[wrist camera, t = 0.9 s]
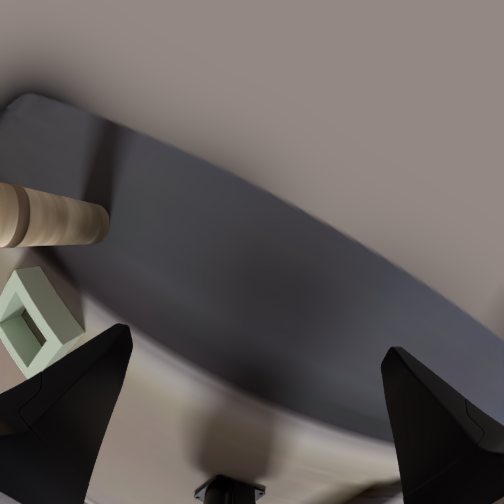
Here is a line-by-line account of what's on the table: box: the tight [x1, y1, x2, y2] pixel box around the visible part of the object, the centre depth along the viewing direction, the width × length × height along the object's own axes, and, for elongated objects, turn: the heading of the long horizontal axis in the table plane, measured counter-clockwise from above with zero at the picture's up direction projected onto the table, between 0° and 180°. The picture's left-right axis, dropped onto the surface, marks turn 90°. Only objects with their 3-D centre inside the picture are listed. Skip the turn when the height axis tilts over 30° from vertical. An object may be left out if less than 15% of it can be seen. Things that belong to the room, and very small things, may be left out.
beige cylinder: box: [0, 182, 110, 248], centre depth 16 cm, size 4×4×12 cm
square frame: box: [0, 266, 85, 379], centre depth 20 cm, size 8×8×4 cm
